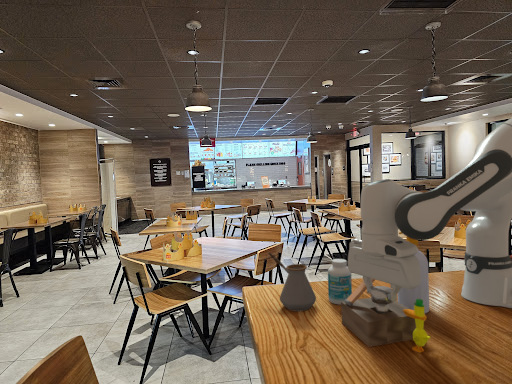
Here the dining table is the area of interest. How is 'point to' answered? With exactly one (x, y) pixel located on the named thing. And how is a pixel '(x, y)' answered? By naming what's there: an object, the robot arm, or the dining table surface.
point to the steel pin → (381, 298)
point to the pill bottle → (339, 281)
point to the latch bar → (356, 293)
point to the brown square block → (377, 322)
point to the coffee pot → (296, 288)
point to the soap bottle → (422, 291)
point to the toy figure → (418, 325)
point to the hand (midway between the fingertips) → (381, 296)
